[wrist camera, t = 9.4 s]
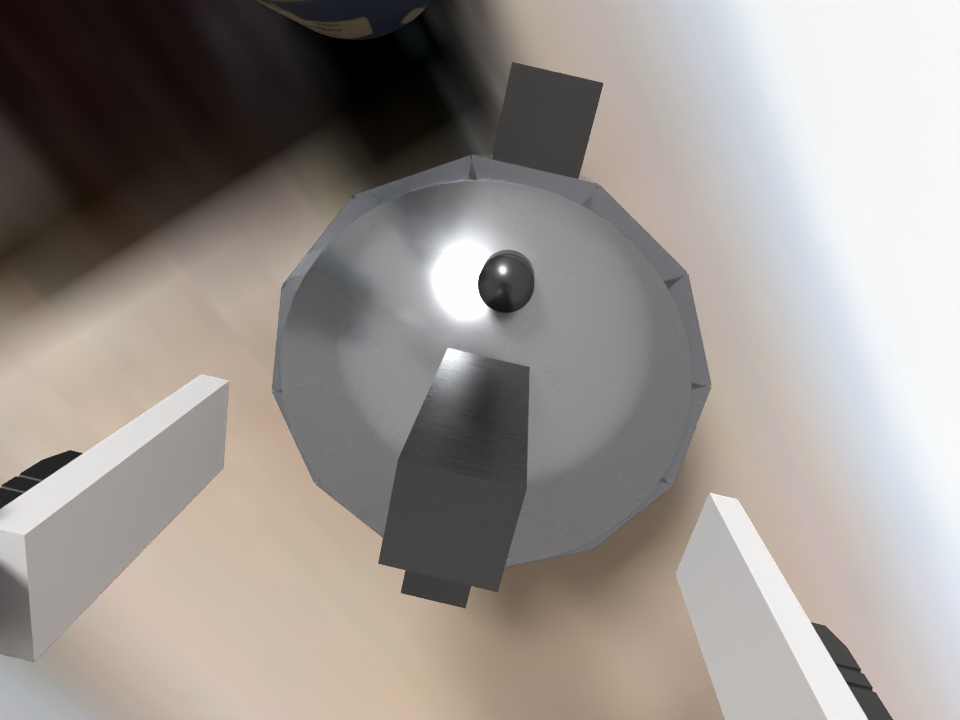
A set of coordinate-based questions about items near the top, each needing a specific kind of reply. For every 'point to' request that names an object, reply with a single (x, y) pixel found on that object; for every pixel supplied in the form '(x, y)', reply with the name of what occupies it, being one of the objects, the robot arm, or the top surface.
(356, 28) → the canister
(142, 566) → the top surface
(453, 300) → the lid
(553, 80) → the cooker pot
